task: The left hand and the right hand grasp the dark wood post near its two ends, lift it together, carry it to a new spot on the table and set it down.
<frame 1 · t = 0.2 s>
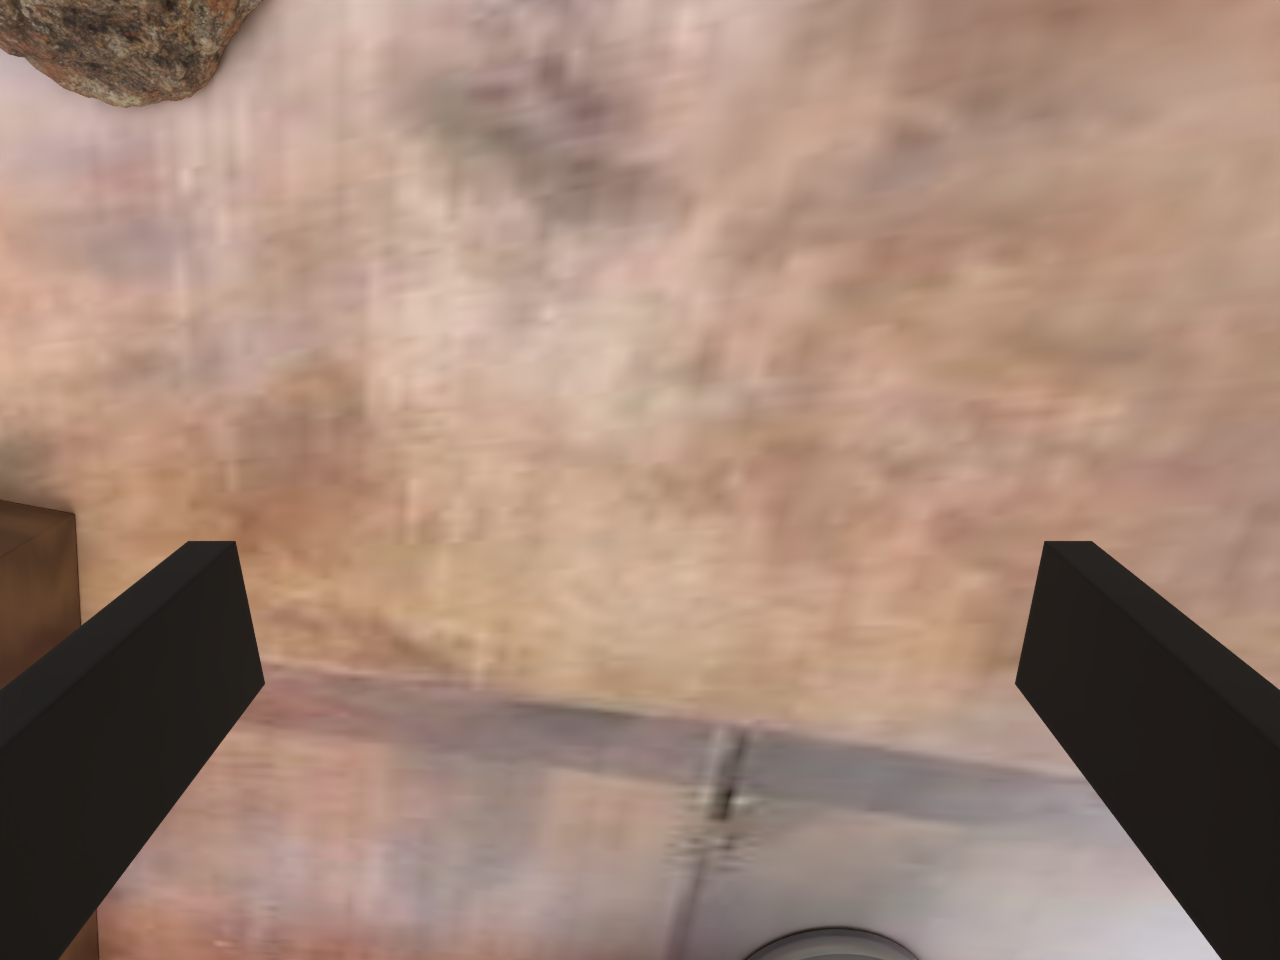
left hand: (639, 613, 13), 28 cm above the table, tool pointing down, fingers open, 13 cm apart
post: (57, 945, 54), on the table
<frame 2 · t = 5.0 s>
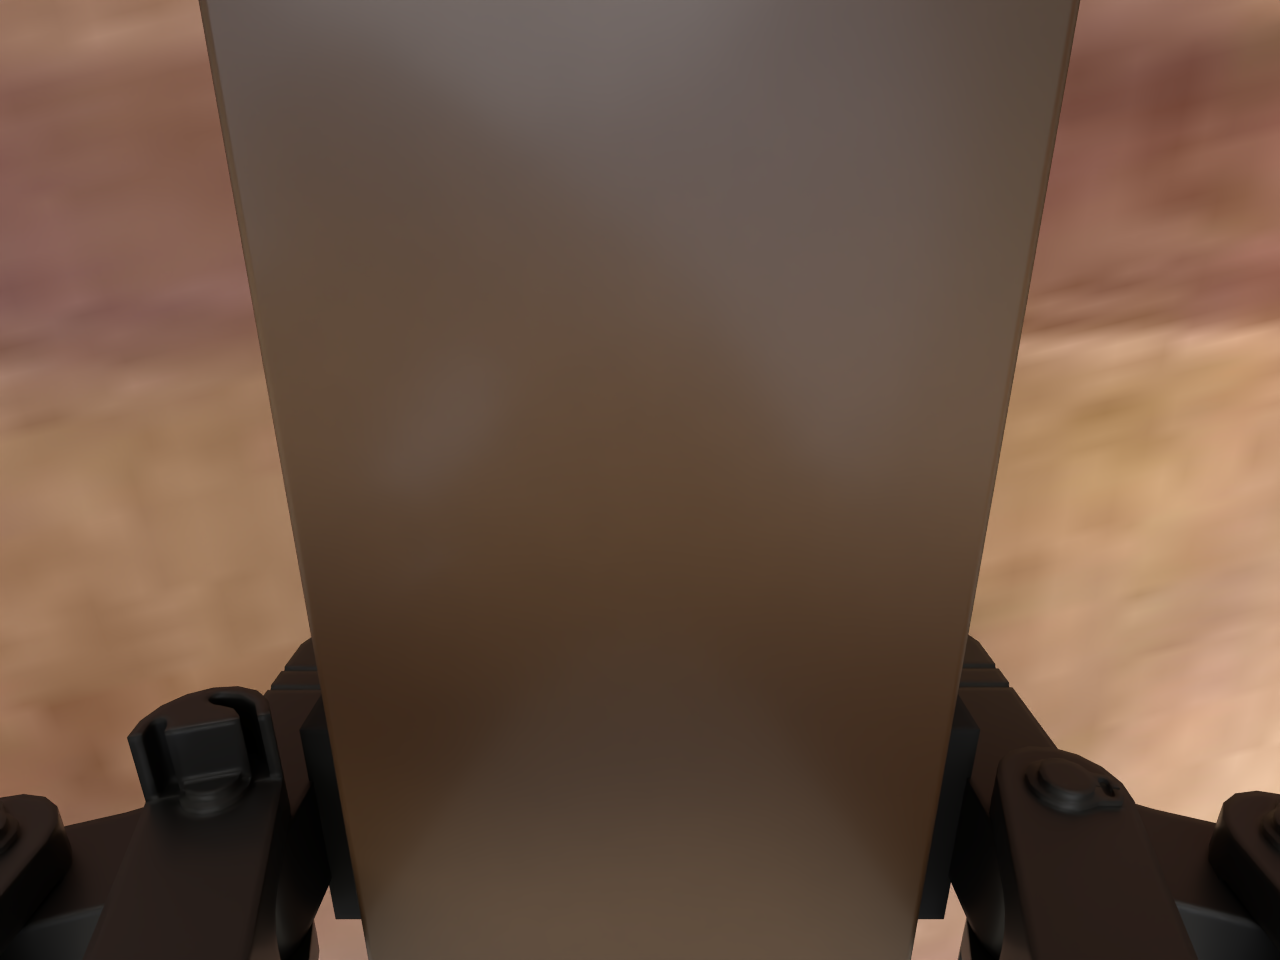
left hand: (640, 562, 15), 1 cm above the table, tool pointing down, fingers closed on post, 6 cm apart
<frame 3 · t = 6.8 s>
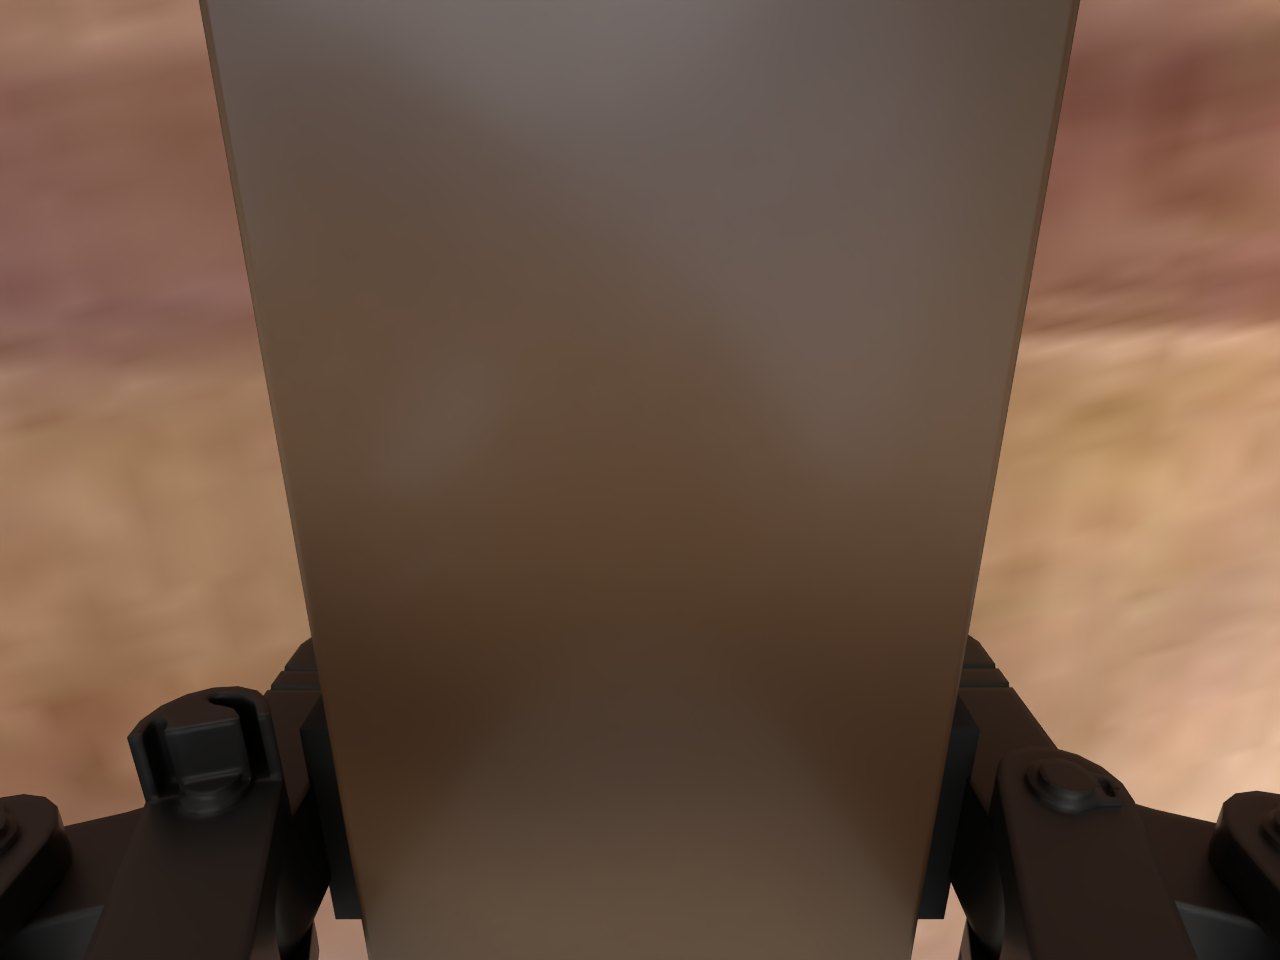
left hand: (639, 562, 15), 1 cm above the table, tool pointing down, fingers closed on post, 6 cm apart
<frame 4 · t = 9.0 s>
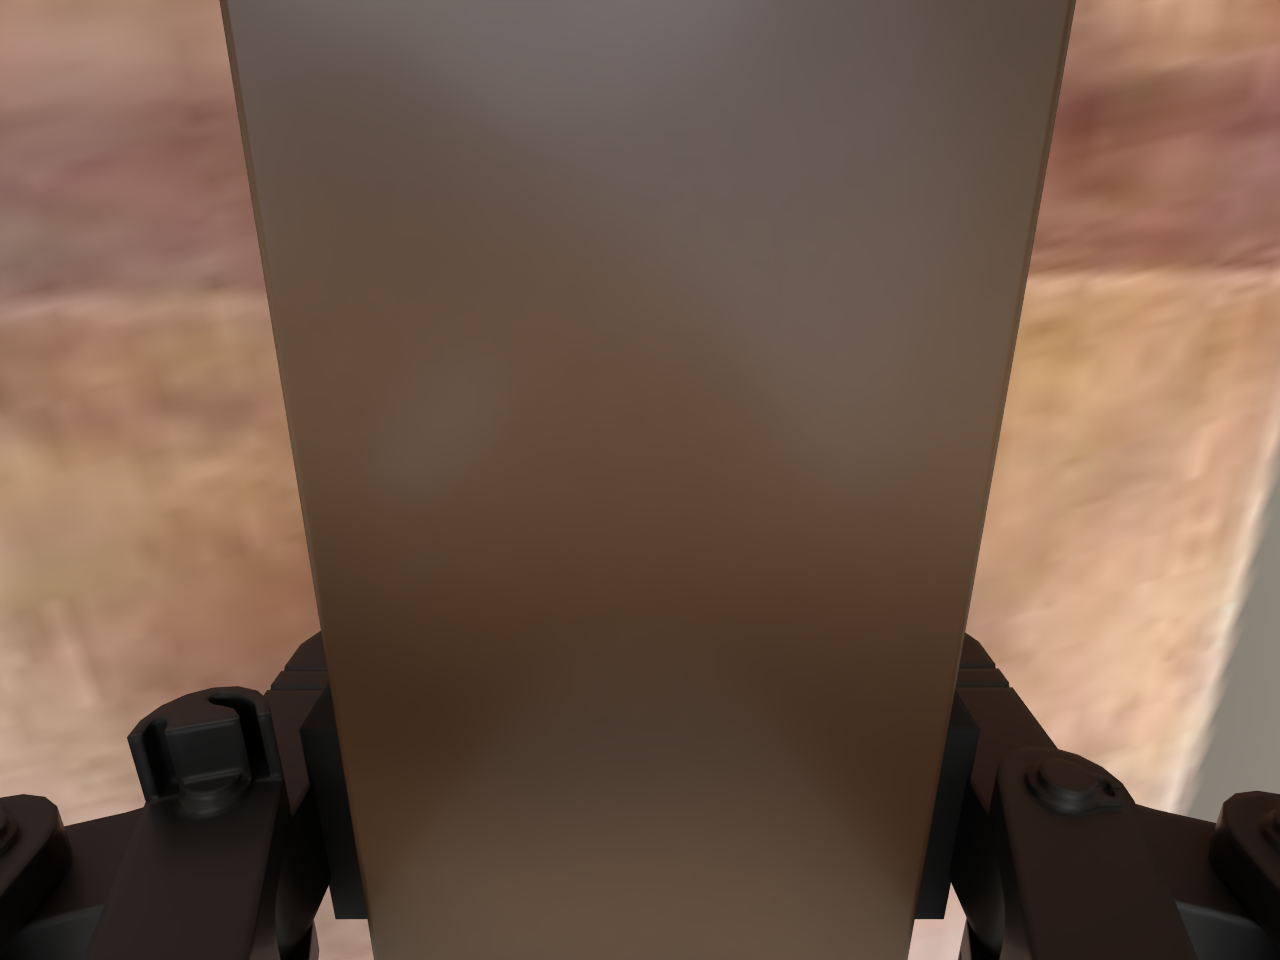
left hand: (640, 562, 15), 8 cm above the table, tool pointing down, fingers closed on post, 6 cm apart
when the left hand's fingers open (2 cm above the table, at t = 13.2 s): post drops 1 cm, on the table.
when the right hand's fingers open (4 cm above the table, at t = 13.4 s): post stays where it is, on the table.
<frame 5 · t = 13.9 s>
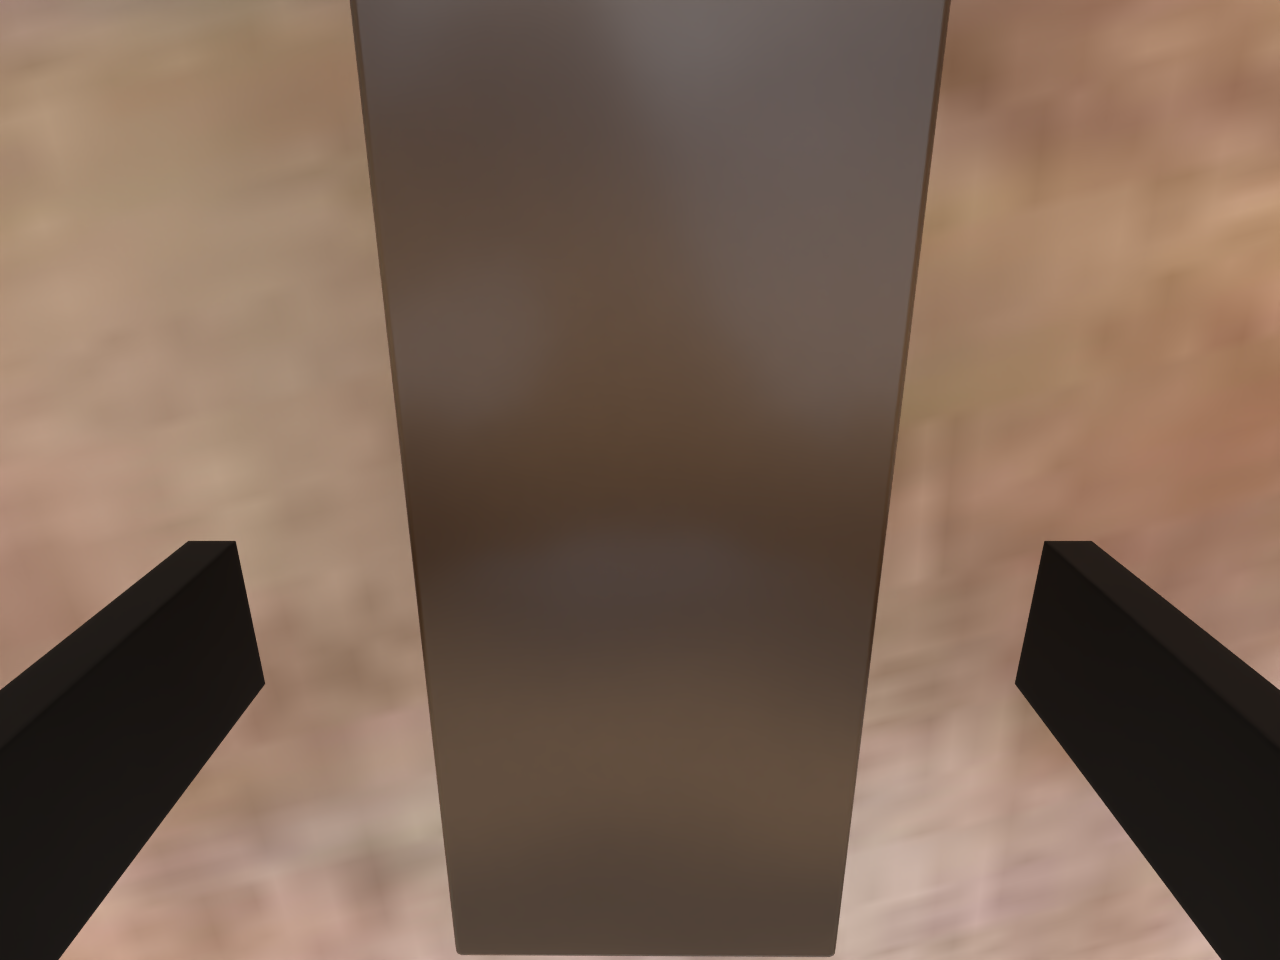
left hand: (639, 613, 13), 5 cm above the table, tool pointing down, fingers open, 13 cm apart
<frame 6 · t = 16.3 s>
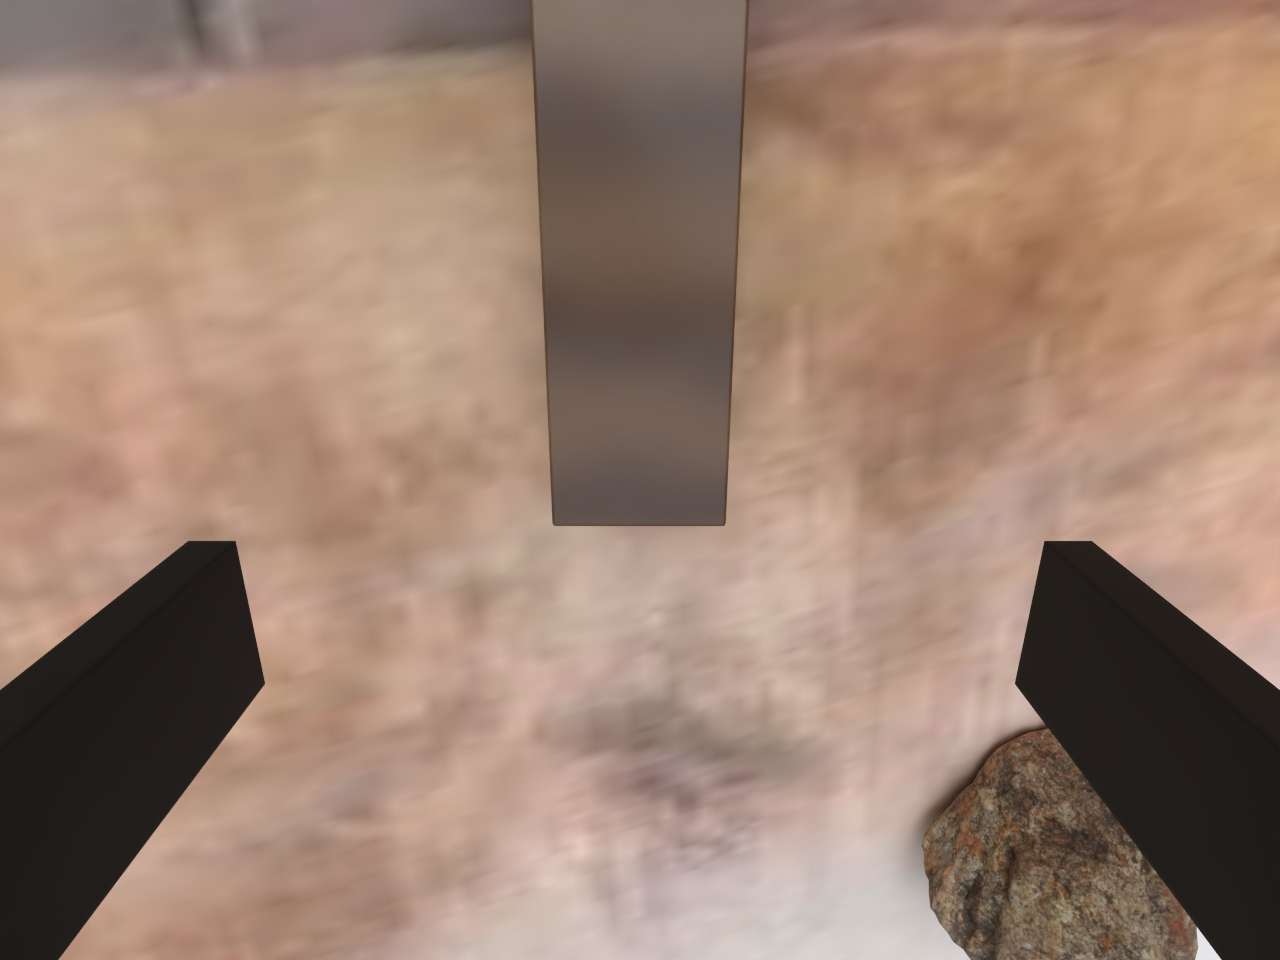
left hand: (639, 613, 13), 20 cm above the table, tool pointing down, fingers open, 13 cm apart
rock: (1059, 796, 39), on the table
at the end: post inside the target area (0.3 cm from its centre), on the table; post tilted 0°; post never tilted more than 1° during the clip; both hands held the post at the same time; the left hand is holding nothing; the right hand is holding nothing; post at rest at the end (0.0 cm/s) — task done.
